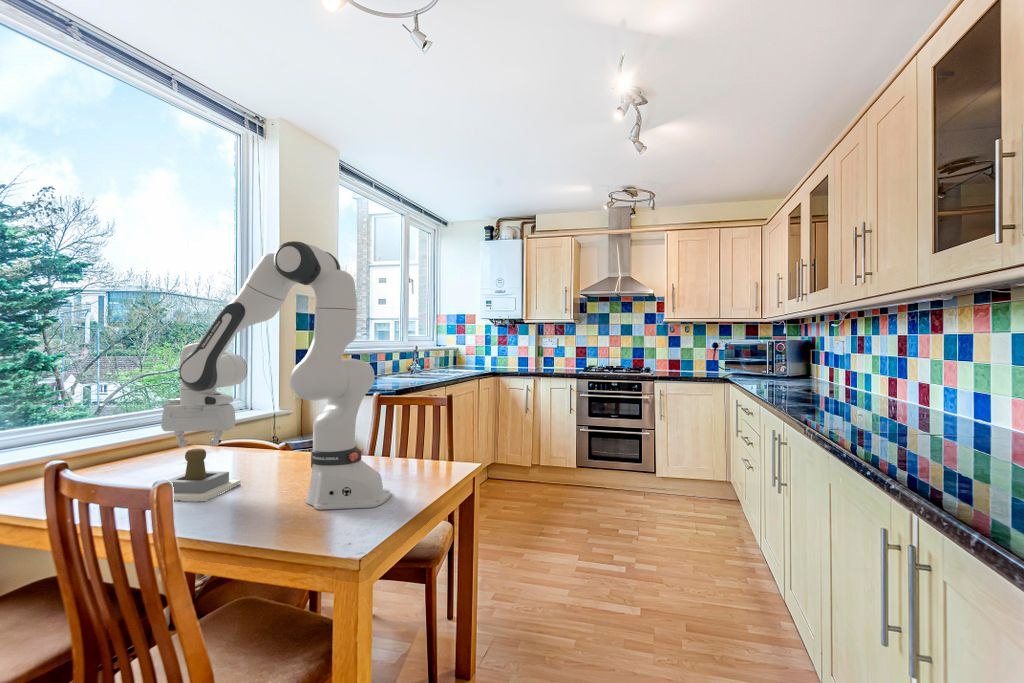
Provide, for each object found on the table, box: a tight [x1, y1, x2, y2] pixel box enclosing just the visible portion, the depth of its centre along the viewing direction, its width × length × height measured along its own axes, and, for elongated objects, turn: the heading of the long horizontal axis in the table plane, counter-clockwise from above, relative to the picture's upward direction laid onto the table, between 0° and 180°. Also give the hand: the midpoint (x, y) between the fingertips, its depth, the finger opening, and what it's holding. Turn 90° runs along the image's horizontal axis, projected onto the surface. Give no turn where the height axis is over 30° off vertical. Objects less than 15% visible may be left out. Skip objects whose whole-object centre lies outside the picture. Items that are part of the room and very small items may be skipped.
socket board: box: [168, 470, 241, 502], centre depth 141 cm, size 16×16×4 cm
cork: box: [184, 448, 207, 481], centre depth 141 cm, size 6×6×11 cm
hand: (198, 446), depth 141 cm, fingers open, 8 cm apart
